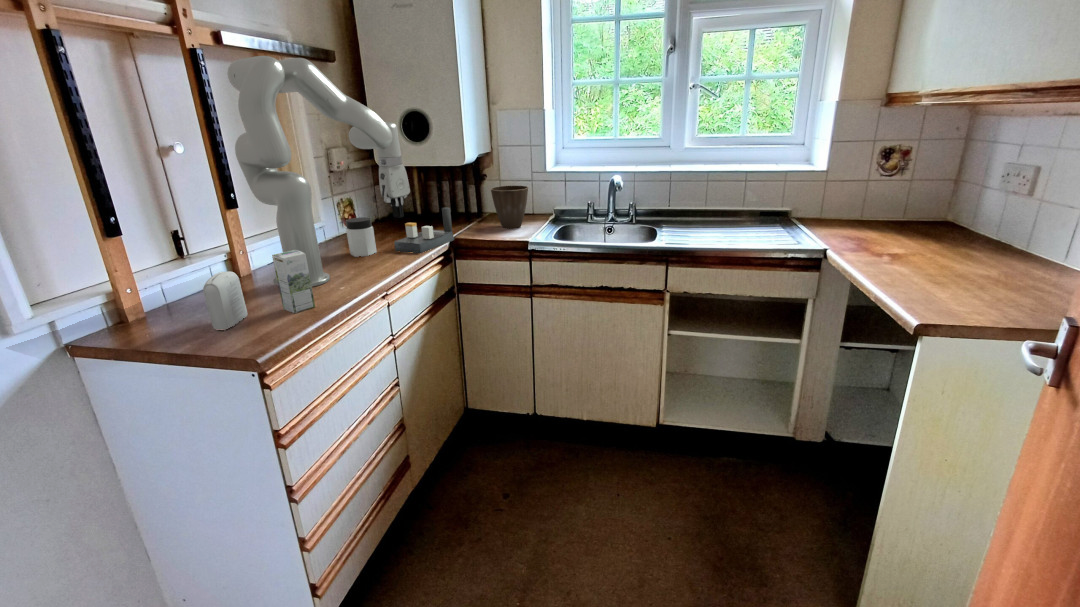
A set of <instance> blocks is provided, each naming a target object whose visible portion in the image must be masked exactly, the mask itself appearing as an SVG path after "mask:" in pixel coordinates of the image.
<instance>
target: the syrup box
mask: <svg viewBox="0 0 1080 607" xmlns="http://www.w3.org/2000/svg"><path fill="white" fill-rule="evenodd" d="M272 261H273V266H274V271H275V276H276V278H277V281H278V285H277V286H278V290H279V294H280V299H281V300H280V301H281V304H282V307H283V310H285V311H287V312H289V313H293V314H297V313H301V312H304V311H306V310H310V309H313V308H315V307H316V303H315V298H314V292H313V287H312V286H311V281H310V276H309V270H308V265H307V259H306V254H305V253H303V252H301V251H298V250H292V251H287V252H283V251H282V252H280V253H275V254H272Z"/></svg>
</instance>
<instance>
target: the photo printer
mask: <svg viewBox="0 0 1080 607" xmlns="http://www.w3.org/2000/svg"><path fill="white" fill-rule="evenodd" d="M202 292H203V295H204V299H205V304H206V307H207V310H208V314H209V318H210V322H211V325H212V329H213V330H214V329H219V330H220V329H227V328H230V327H232V326H233V327H234V326H236V325H237V324H239V323H240V322H241V321H243V318H244V319H245V318H246V317H248V310H247V309H248V308H247V306H246V302H245V297H244V294H243V290H242V286H241V281H240V278H239V276H238V275H237V274H236V273H235V272H233V271H231V270H230V271H220V272H218V273H215V274H214V275H212V276H211V277H210V278H209V279H207V281H206V282H205V283H204V285H203V287H202ZM239 321H240V322H239ZM235 324H236V325H235ZM233 327H232V328H233ZM230 329H231V328H230Z"/></svg>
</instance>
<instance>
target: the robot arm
mask: <svg viewBox="0 0 1080 607" xmlns="http://www.w3.org/2000/svg"><path fill="white" fill-rule="evenodd" d="M227 78H228V81H229V83H230V85H231V86H232V88H234V89H236V90H237V91H238V92H239V95H238V100H237V102H238V103H237V107H238V108H237V109H238V112H239V117H240V119H241V122H242V125H243V128H244V129H245V132H244V133H241V134H240V135H239V136H238V137H237V139H236V141H235V145H234V151H235V157H236V160H237V163H238V164H239V167H240V169H241V171H242V173H243V175H244V178H245V180H246V182H247V185H248V187H249V189H250V191H251V192H252V195H254V197H255V198H256V199H257V201H259V202H260V203H261V204H265V205H269V206H277V207H276V210H277V211H276V227H277V232H278V237H279V241H280V245H281V251H282V253H283V252H287V251H292V250H298V251H301V252H303V253H305V254H306V259H307V265H308V270H309V276H310V281H311V286H312V288H313V287H316V286H320V285H323V284H325V283H327V282H329V281H330V279H331V275H330V273H327V272H324V269H323V263H322V258H321V253H320V248H319V242H318V238H317V237H318V236H317V231H316V227H315V222H314V217H313V204H312V200H313V197H312V196H313V193H312V188H311V187H312V186H311V185H310V182H309V181H308V180H307V179H306V177H304V176H303V175H301V174H300V173H298V172H294V171H287V170H286V171H285V170H278V169H280V168H284V167H286V166H288V165H289V164H290V162H291V161H292V150H291V147H290V145H289V142H288V140H287V139H288V138H287V137H286V134H285V132H284V129H283V127H282V123H281V121H280V119H279V116H278V112H277V109H276V101H277V97H278V94H285V93H287V94H288V93H289V94H290V93H298V94H300V96H302V97H303V98H304V99H305V100H306V101H307V102H308V103H310V104H311V105H312V106H313V107H314V108H315V109H316V110H317V111H318V112H319V113H320V114H321V115H323V116H324V117H326V118H329V119H331V120H334V121H337V122H340V123H344V124H347V125H348V126H349V125H350V126H352V127H351V128H350V130H349V131H348V140H349V142H350V144H352V146H354V147H355V148H357V149H360V150H372V149H373V150H376V155H377V165H378V180H379V181H378V182H379V183H378V184H379V190H380V195H381V197H382V198H383V202H384V203H388V204H389V205H390V206H391V209H392V215H393V218H397V219H401V218H404V217H405V214H404V209H403V208H404V207H403V205H404V200H405V199H406V198H407V197H408V195H409V194H410V192H411V189H410V183H409V179H408V178H409V177H408V174H407V170H406V167H405V165H404V164H403V159H402V151H401V145H400V138H399V131H398V125H397V124H396V123H394V122H385V121H384V120H383V119H382V118H381V117H380V116H379V114H377V113H376V112H375V111H373V109H371V108H369V107H367V106H366V105H364V103H363V104H362V103H361V102H359V101H357V100H355V99H353V98H352V97H350V96H348V95H346V94H345V93H344V92H342V90H340V89H339V88H338V86H336V85H335V84H334V83H333V82H332V81H331V80H330V79H329V78H328V77H327V76H326V75H325V74H324V73H323V72H322V71H321V70H320V69H319V68H318V67H317V66H316V65H315V64H314V63H313V62H311V61H310V60H309V59H306V58H303V57H293V58H286V59H277V58H276V57H273V56H269V55H258V56H257V55H256V56H252V57H245V58H238V59H235V60H234V61H231V63H230V64H229V66H228V68H227ZM272 282H273V284H274V285H276V286H278V281H277V277H275V278H273V281H272Z"/></svg>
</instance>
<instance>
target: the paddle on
mask: <svg viewBox="0 0 1080 607" xmlns="http://www.w3.org/2000/svg"><path fill="white" fill-rule="evenodd" d="M404 226H405V233H406V237H410V238H414V237H417V236H418V234H417V233H418V227H417V226H418V225H417V222H406V223H404Z"/></svg>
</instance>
